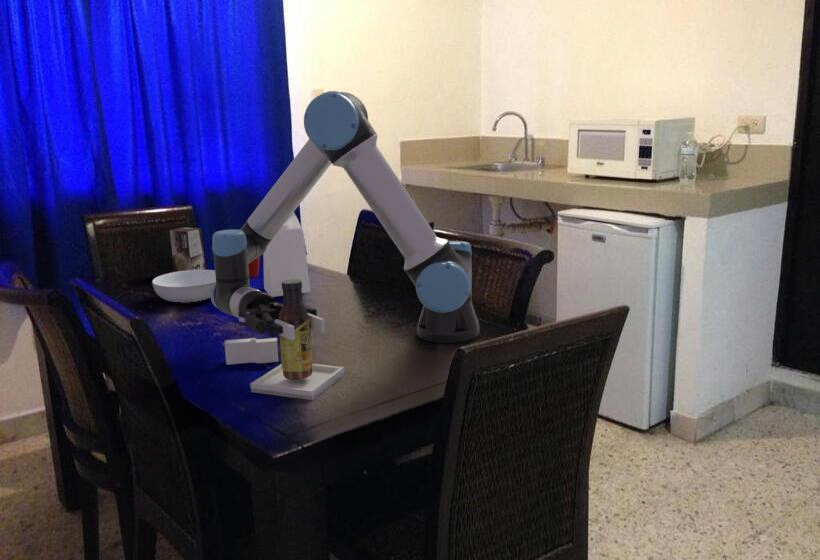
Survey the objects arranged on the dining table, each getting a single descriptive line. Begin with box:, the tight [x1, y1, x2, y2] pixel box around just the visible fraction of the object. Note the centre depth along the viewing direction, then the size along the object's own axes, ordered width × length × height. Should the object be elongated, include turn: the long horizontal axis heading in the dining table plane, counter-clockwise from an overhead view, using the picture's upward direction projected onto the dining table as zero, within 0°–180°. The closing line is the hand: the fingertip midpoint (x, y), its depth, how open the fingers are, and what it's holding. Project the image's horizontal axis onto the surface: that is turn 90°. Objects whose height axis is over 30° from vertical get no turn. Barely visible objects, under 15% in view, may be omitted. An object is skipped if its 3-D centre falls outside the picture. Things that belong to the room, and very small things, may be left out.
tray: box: [250, 363, 346, 401], centre depth 152 cm, size 14×14×2 cm
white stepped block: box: [224, 337, 279, 366], centre depth 165 cm, size 15×11×6 cm
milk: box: [262, 211, 311, 298], centre depth 226 cm, size 12×12×26 cm
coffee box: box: [169, 227, 206, 272], centre depth 252 cm, size 9×6×16 cm
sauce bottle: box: [279, 279, 314, 380], centre depth 149 cm, size 7×6×20 cm
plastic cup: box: [248, 256, 261, 279], centre depth 249 cm, size 11×11×12 cm
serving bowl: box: [151, 269, 216, 304], centre depth 221 cm, size 21×21×7 cm
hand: (308, 329), depth 145 cm, fingers closed on sauce bottle, 6 cm apart
